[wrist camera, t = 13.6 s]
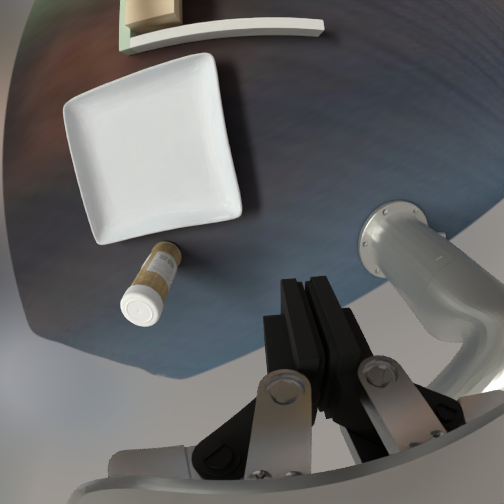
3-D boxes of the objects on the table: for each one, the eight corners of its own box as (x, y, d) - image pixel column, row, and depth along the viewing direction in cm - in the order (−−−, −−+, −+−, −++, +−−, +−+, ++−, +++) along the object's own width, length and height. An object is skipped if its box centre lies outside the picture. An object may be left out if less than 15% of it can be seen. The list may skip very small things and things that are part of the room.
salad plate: (215, 55, 28) (212, 48, 25) (244, 210, 37) (244, 218, 34) (72, 104, 29) (59, 104, 26) (107, 238, 38) (97, 247, 35)
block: (182, -9, 23) (173, -24, 18) (182, 25, 25) (174, 12, 21) (139, 2, 23) (126, -11, 18) (138, 35, 26) (124, 25, 21)
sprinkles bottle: (146, 248, 39) (111, 302, 27) (171, 234, 38) (141, 287, 26) (163, 273, 41) (137, 333, 28) (188, 260, 40) (167, 320, 28)
